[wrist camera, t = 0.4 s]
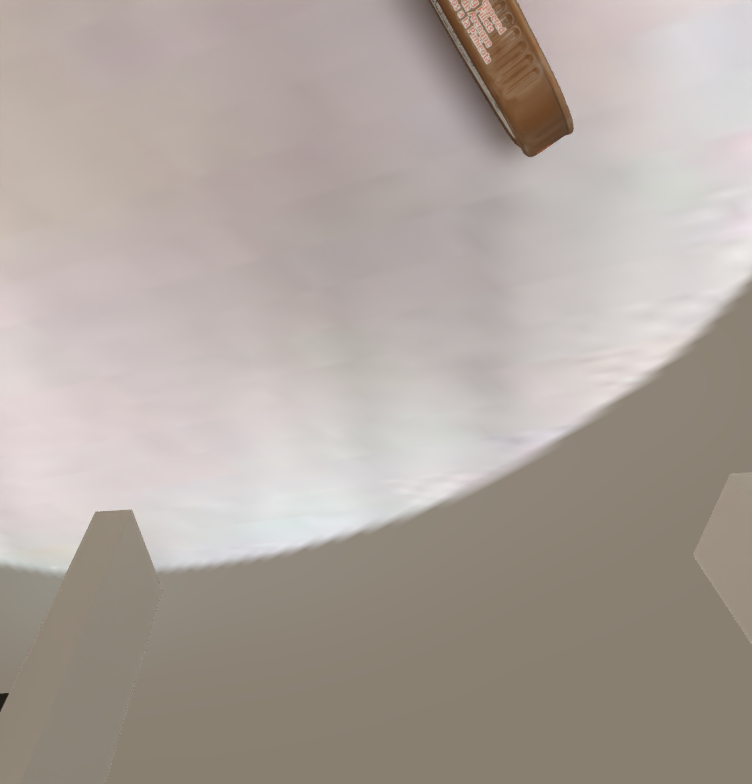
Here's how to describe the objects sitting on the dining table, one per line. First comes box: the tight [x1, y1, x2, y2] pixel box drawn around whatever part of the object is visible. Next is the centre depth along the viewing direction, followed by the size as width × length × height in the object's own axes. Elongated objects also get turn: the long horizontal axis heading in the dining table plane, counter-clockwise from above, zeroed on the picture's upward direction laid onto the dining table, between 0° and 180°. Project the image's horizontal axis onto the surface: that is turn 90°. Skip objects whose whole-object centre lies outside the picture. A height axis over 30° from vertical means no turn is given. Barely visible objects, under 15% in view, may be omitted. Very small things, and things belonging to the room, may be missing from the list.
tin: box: [429, 0, 574, 157], centre depth 26 cm, size 15×3×8 cm, turn 36°
